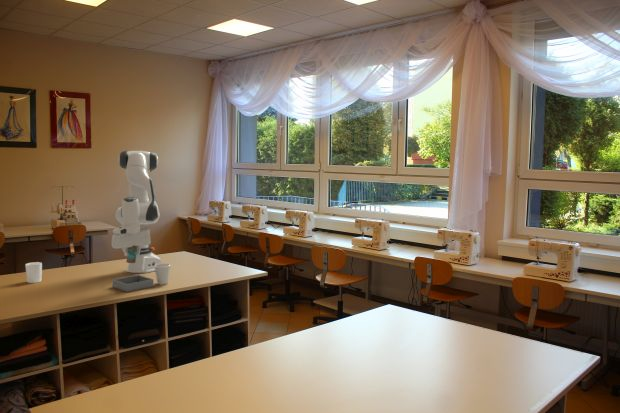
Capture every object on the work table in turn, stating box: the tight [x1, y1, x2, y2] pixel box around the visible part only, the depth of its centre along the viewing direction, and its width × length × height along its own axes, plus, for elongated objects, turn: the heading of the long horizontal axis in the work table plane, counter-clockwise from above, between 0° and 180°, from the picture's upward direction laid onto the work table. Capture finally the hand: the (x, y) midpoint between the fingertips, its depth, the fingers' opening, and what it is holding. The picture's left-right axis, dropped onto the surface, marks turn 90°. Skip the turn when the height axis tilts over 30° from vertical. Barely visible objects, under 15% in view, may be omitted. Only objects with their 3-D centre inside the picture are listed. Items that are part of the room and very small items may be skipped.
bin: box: [111, 274, 154, 293], centre depth 261 cm, size 15×15×4 cm
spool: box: [126, 246, 137, 264], centre depth 259 cm, size 4×4×9 cm
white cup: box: [24, 261, 43, 284], centre depth 272 cm, size 8×8×10 cm
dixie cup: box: [154, 263, 171, 285], centre depth 269 cm, size 8×8×10 cm
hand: (132, 255), depth 260 cm, fingers closed on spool, 5 cm apart
